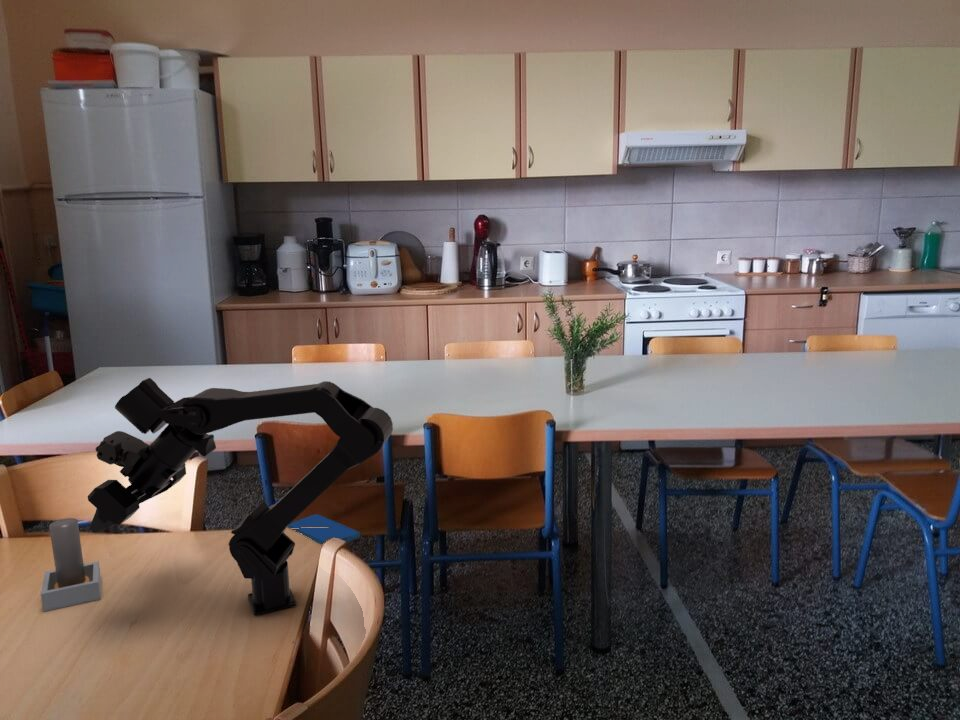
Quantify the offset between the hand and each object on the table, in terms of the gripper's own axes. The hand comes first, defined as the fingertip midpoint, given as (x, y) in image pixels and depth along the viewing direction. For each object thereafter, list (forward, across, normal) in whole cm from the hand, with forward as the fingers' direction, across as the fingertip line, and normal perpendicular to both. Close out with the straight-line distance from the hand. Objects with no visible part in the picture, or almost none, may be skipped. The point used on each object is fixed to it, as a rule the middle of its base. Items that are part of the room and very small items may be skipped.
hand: (109, 518), depth 117 cm
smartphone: (-8, -26, +28) cm, 39 cm away
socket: (+15, 0, +4) cm, 16 cm away
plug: (+15, 0, +4) cm, 16 cm away
